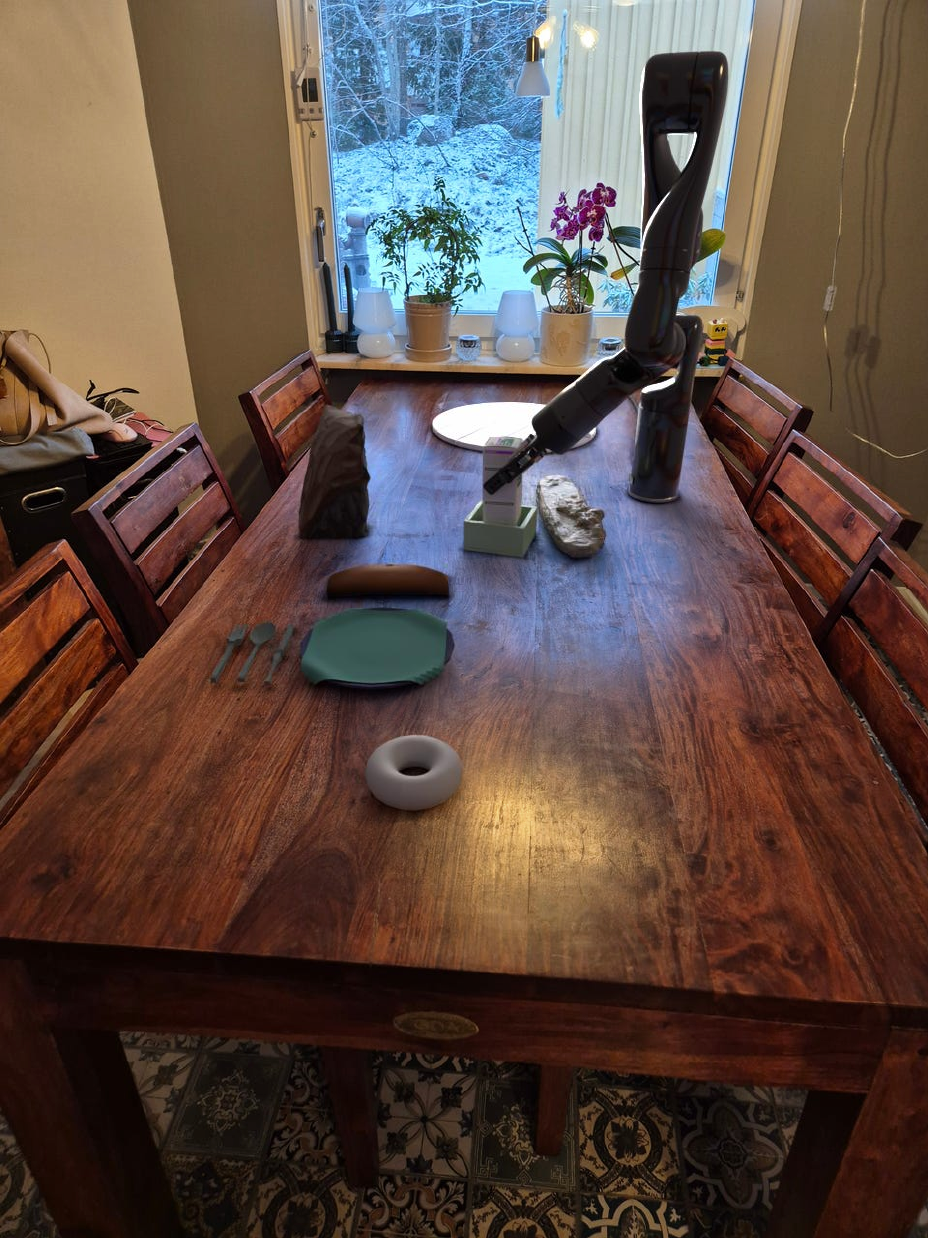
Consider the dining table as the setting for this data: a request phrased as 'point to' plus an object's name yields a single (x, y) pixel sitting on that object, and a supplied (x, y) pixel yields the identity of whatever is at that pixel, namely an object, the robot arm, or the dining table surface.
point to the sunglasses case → (387, 580)
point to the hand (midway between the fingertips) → (492, 483)
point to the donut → (413, 788)
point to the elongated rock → (570, 517)
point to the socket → (499, 533)
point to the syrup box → (509, 497)
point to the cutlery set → (359, 648)
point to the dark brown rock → (336, 479)
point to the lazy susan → (489, 423)
